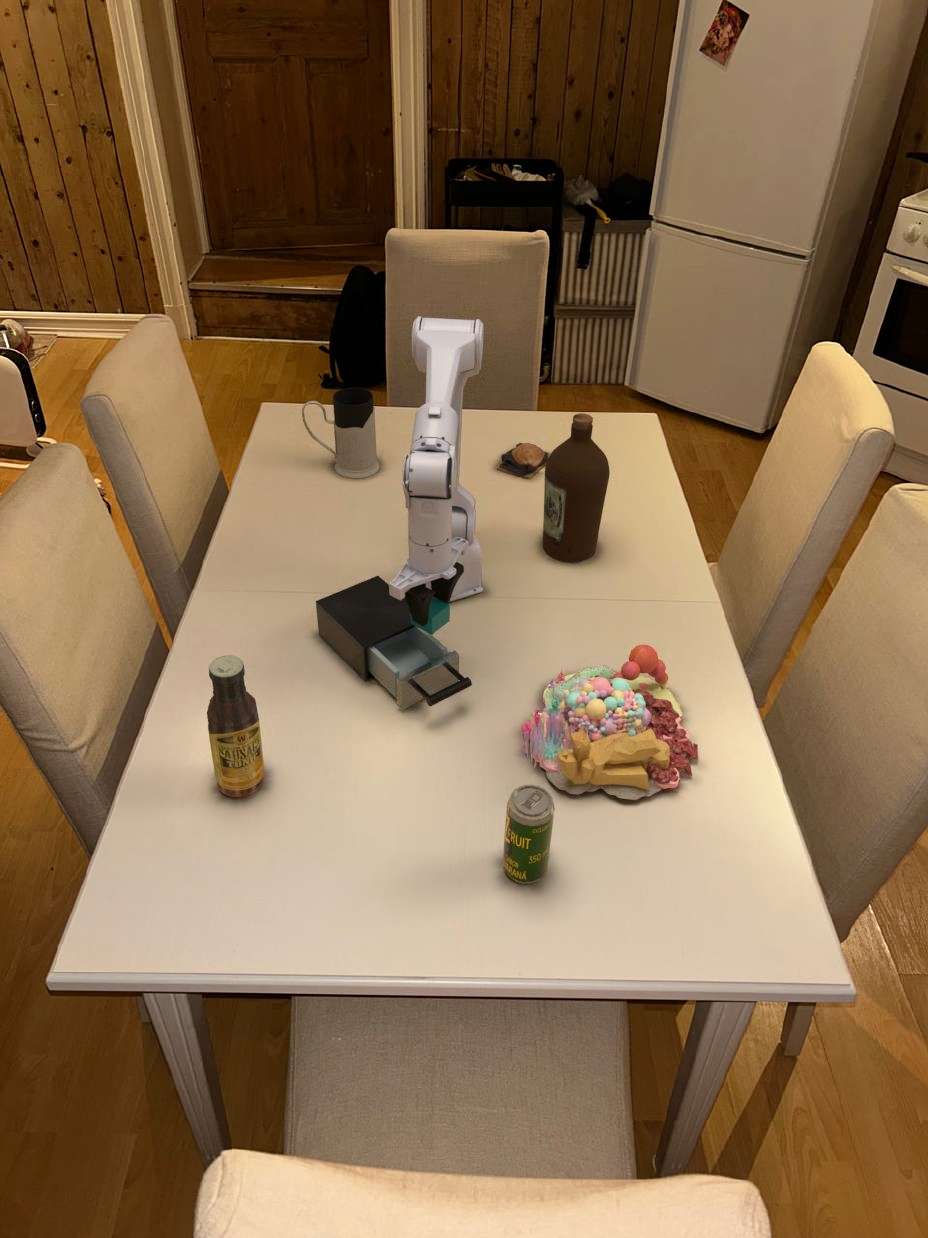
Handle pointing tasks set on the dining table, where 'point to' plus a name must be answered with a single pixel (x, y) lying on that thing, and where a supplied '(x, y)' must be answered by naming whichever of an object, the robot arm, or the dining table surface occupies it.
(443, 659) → the drawer
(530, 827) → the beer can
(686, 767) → the candy landscape model
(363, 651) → the black storage box
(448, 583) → the robot arm
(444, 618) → the block
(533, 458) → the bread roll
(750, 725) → the dining table surface
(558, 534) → the olive oil
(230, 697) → the sauce bottle
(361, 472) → the glass holder
